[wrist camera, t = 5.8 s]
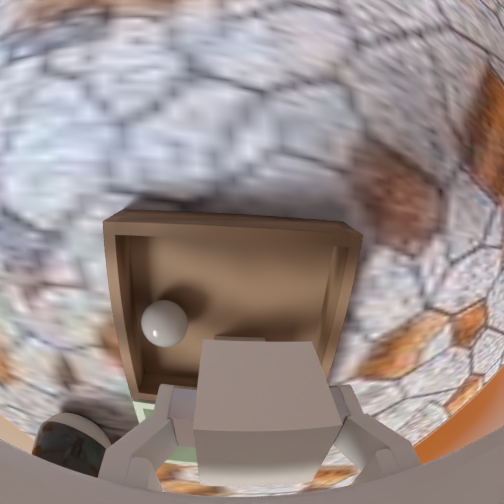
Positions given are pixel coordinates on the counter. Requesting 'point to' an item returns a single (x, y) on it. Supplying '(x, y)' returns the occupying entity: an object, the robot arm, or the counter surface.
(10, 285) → the counter surface
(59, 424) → the black rounded cone
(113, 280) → the walnut crate
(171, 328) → the round pebble
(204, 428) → the small beige block
